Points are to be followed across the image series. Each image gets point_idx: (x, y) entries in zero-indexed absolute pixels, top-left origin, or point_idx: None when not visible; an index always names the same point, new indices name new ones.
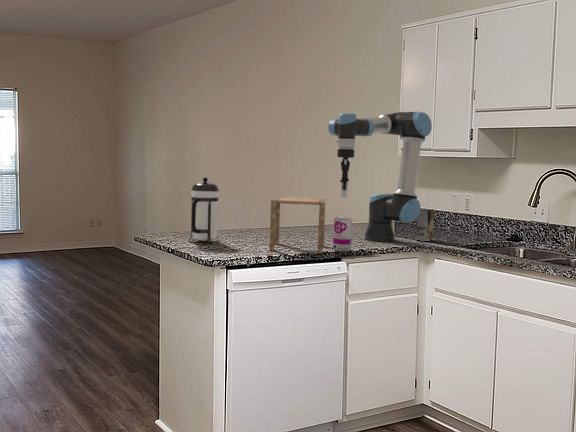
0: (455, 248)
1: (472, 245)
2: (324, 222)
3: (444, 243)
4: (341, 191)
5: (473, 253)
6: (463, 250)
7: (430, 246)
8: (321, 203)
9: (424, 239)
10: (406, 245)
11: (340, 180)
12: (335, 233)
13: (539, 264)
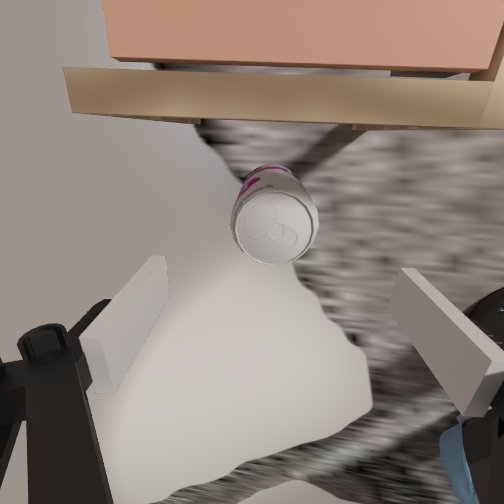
0: (354, 444)
1: (403, 475)
2: (392, 129)
3: (433, 441)
4: (132, 281)
5: (289, 455)
6: (327, 450)
7: (380, 410)
8: (72, 88)
9: (465, 417)
10: (393, 368)
11: (21, 343)
12: (251, 179)
13: (194, 501)
